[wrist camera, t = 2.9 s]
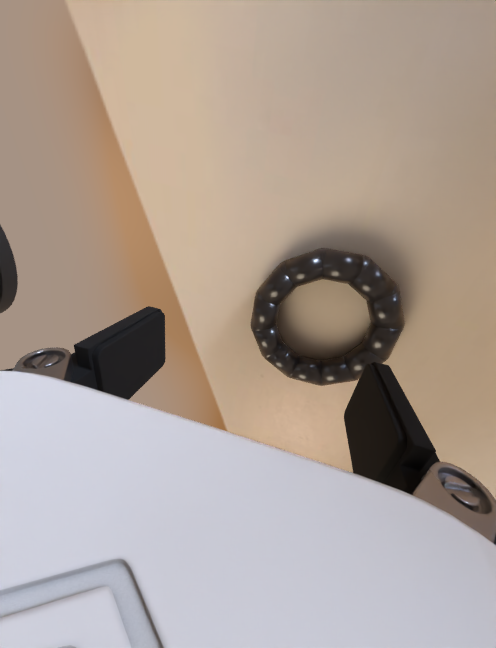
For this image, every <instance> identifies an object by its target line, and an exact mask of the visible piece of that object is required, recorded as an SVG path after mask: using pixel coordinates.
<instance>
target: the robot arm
mask: <svg viewBox="0 0 496 648" xmlns="http://www.w3.org/2000/svg"><path fill="white" fill-rule="evenodd" d="M74 349H75V353H73V354H70V352H69V351H68V350H66V349H64V348H46V349H40V350H37V351H34V352H32V353H29V354H27V355H25V356H23V357H22V358H21V359H20V360H19V361H18V362H17V364H16V365H15V367H14V368H13V369H6V370H0V648H496V500H495V498H494V497H493V496H492V494H491V493H490V492H489V490H488V489H487V488H486V487H485V486H484V485H483V484H482V483H481V482H480V481H478V480H477V479H476V478H475V477H473V476H472V475H471V474H469V473H468V472H466V471H465V470H463V469H461V468H459V467H457V466H455V465H453V464H450V463H446V462H440V461H439V459H438V457H437V455H436V453H435V452H436V450H435V448H434V446H433V445H432V443H431V441H430V439H429V437H428V436H427V434H426V432H425V430H424V428H423V426H422V425H421V423H420V421H419V419H418V417H417V416H416V414H415V412H414V410H413V408H412V406H411V405H410V403H409V401H408V399H407V397H406V396H405V394H404V392H403V390H402V388H401V386H400V385H399V383H398V381H397V379H396V377H395V376H394V374H393V372H392V370H391V368H390V367H389V365H385V364H381V363H377V362H372V363H371V364H367V365H366V366H365V368H364V370H363V372H362V374H361V377H360V379H359V381H358V383H357V386H356V388H355V390H354V392H353V394H352V397H351V399H350V401H349V403H348V405H347V408H346V410H345V413H344V421H345V426H346V432H347V438H348V444H349V449H350V455H351V461H352V467H353V473H352V472H349V471H345V470H342V469H339V468H336V467H333V466H331V465H328V464H325V463H322V462H319V461H316V460H313V459H310V458H307V457H303V456H300V455H297V454H294V453H291V452H288V451H285V450H282V449H279V448H276V447H273V446H270V445H267V444H264V443H261V442H258V441H255V440H252V439H249V438H246V437H243V436H239V435H236V434H233V433H230V432H227V431H224V430H221V429H218V428H215V427H212V426H209V425H205V424H202V423H199V422H196V421H193V420H190V419H187V418H184V417H181V416H177V415H174V414H171V413H168V412H165V411H162V410H159V409H155V408H152V407H149V406H146V405H142V404H140V403H136V402H133V401H130V400H129V399H130V398H131V397H132V396H133V395H134V394H135V393H136V392H137V391H138V390H139V389H140V388H141V387H142V386H143V385H144V384H145V383H146V382H147V381H148V380H149V379H150V378H151V377H152V376H153V375H154V374H155V373H156V372H157V371H158V370H159V369H160V368H161V367H162V366H163V365H164V363H165V315H164V313H162V311H161V310H160V309H157V308H153V307H146V308H144V309H142V310H140V311H138V312H136V313H134V314H133V315H130V316H129V317H127V318H125V319H123V320H121V321H119V322H117V323H115V324H113V325H111V326H110V327H107V328H106V329H104V330H102V331H100V332H98V333H96V334H94V335H92V336H90V337H88V338H87V339H85V340H83V341H81V342H79V343H77V344H75V345H74Z"/></svg>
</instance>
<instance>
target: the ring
mask: <svg viewBox="0 0 496 648" xmlns="http://www.w3.org/2000/svg"><path fill="white" fill-rule="evenodd" d="M320 279H325V280H330V281H336V282H341V283H346V284H349V285H350V286H351V287H352V288H353V289H355V290H356V291H357V292H358V293H359V294H360V295H361V296H362V297H363V298H364V299H366V301H367V305H368V310H369V314H370V319H371V323H370V326H369V328H368V330H367V333H366V335H365V338H364V340H363V342H362V343H361V344H359V345H358V346H357V347H355V348H354V349H353V350H351V351H350V352H349V353H348V354H346V355H345V356H343V357H338V358H332V359H327V360H322V361H319V360H315V359H311V358H307V357H303V356H299V355H297V354H296V353H295V352H294V351H293V350H292V349H290V348H289V347H288V346H287V345H286V344H284V343H283V341H282V339H281V336H280V333H279V330H278V328H277V325H276V322H277V317H278V313H279V308H280V304H281V303H282V302H283V301H284V300H285V299H286V298H287V297H288V295H289V294H290V293H291V292H292V291H293V290H294V289H295V288H296V287H298V286H301V285H304V284H308V283H311V282H314V281H317V280H320ZM404 325H405V321H404V315H403V309H402V303H401V297H400V291H399V287H398V285H397V284H396V282H395V281H394V280H392V279H391V278H390V277H389V276H388V275H387V274H386V273H385V272H384V271H383V270H382V269H381V268H380V267H379V266H377V265H376V264H375V263H374V262H373V261H372V260H371V259H370V258H369V257H367V256H365V255H361V254H355V253H350V252H344V251H338V250H333V249H327V248H321V249H317V250H314V251H312V252H309V253H306V254H303V255H300V256H297V257H295V258H292V259H289V260H286V261H284V262H282V263H281V264H280V265H279V266H278V267H277V268H276V269H275V270H274V271H273V273H272V274H271V275H270V276H269V277H268V278H267V280H266V281H265V282H264V283H263V284H262V285H261V287H260V288H259V289H258V290H257V292H256V295H255V301H254V307H253V313H252V319H251V329H252V331H253V334H254V336H255V339H256V341H257V344H258V346H259V349H260V351H261V354H262V356H263V357H264V358H265V359H266V360H268V361H269V362H270V363H271V364H272V365H274V366H275V367H276V368H277V369H278V370H280V371H281V372H282V373H283V374H284V375H286V376H287V377H289V378H292V379H296V380H300V381H304V382H308V383H312V384H315V385H320V386H324V385H330V384H337V383H343V382H350V381H355V380H358V379H360V377H361V374H362V372H363V370H364V368H365V366H366V365H367V364H371V363H372V362H377V363H381V364H382V363H383V362H385V361H386V360H387V359H388V358H389V356H390V354H391V352H392V350H393V348H394V346H395V344H396V342H397V340H398V338H399V336H400V334H401V332H402V330H403V328H404Z"/></svg>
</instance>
